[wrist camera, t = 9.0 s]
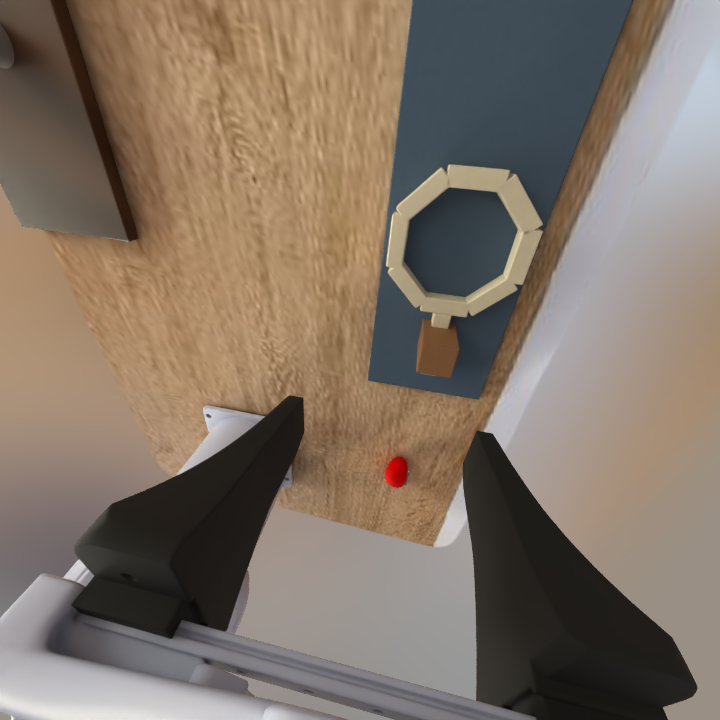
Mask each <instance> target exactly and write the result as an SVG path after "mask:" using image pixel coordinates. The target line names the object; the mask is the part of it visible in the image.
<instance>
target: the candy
mask: <svg viewBox="0 0 720 720" xmlns="http://www.w3.org/2000/svg"><path fill="white" fill-rule="evenodd" d="M408 475H409V470H408V467H407V463H406V461H405V460H404V459H403V458H402V457H397V458H395V459H393V460H392V461H391V462H390V463H389V464H388V466H387V468H386V471H385V480H386V482H387V483H388V484H389V485H391V486H392V487H396V488H399V487H402V486H403V485H406V483H407V479H408Z"/></svg>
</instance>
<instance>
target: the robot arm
mask: <svg viewBox="0 0 720 720" xmlns="http://www.w3.org/2000/svg"><path fill="white" fill-rule="evenodd" d="M203 413H204V417H205V420H206V424H207V427H208V431H209V434H208V436H207V437H206V438H205V439H204V441H203V442H202V443H201V445H200V446H199V447H198V448H197V450H196V451H195V452H194V453H193V455H192V456H191V457H190V458H189V460H188V461H187V462H186V463H185V465H184V466H183V467H182V468H181V470H180V471H179V472H178V474H177V475H176V476H175V477H173V478H171V479H169V480H167V481H165V482H163V483H161V484H158V485H156V486H154V487H152V488H150V489H147V490H145V491H143V492H140V493H138V494H135V495H133V496H130V497H128V498H125V499H123V500H121V501H118V502H115V503H113V504H111V505H110V506H109V507H108V508H107V509H106V510H105V511H104V512H103V513H102V515H101V516H100V517H99V518H98V519H97V520H96V521H95V522H94V523H93V525H92V526H91V527H90V528H89V529H88V530H87V531H86V532H85V533H84V534H83V536H82V537H81V538H80V539H79V540H78V541H77V542H76V543H75V545H74V551H75V554H76V555H77V557H78V558H79V560H78V561H77V562H76V563H75V564H74V566H73V567H72V568H71V569H70V570H69V571H68V573H67V574H66V575H65V576H64V577H63V578H61V577H57V576H54V575H50V574H46V573H45V574H41V575H40V576H39V577H38V578H37V579H36V580H35V581H34V582H33V583H32V584H31V585H30V587H29V588H28V589H27V590H26V591H25V592H24V593H23V594H22V595H21V596H20V597H19V598H18V599H17V601H16V602H15V603H14V604H13V605H12V606H11V607H10V608H9V609H8V610H7V611H6V613H4V615H3V616H2V617H1V618H0V713H3V714H6V715H9V716H11V719H12V720H347V719H344V718H340V717H337V716H333V715H330V714H326V713H322V712H319V711H315V710H311V709H307V708H303V707H299V706H295V705H290V704H286V703H282V702H278V701H273V700H268V699H264V698H259V697H255V696H254V695H253V694H251V693H250V692H249V691H248V689H247V688H248V682H247V681H246V680H244V679H242V678H239V677H237V676H235V675H233V674H230V673H228V672H232V673H235V674H238V675H242V676H246V677H249V678H253V679H256V680H259V681H263V682H266V683H270V684H273V685H277V686H280V687H284V688H287V689H291V690H294V691H297V692H301V693H304V694H308V695H311V696H315V697H319V698H322V699H325V700H329V701H332V702H336V703H339V704H343V705H346V706H350V707H353V708H356V709H360V710H363V711H367V712H371V713H374V714H377V715H381V716H384V717H388V718H391V719H395V720H668V719H667V716H666V714H665V712H664V710H663V707H664V706H668V705H671V704H674V703H677V702H680V701H683V700H686V699H688V698H690V697H692V696H693V695H694V694H695V692H696V691H697V685H696V682H695V680H694V678H693V676H692V674H691V672H690V670H689V669H688V666H687V664H686V663H685V660H684V659H683V657H682V655H681V653H680V651H679V649H678V647H677V646H676V644H675V642H674V640H673V638H672V637H671V636H670V635H669V634H667V633H666V632H665V631H664V630H663V629H662V628H661V627H659V626H658V625H657V624H656V623H655V622H654V621H652V620H651V619H650V618H649V617H648V616H647V615H646V614H644V613H643V612H642V611H641V610H640V609H639V608H637V607H636V606H635V605H634V604H633V603H632V602H631V601H630V600H628V599H627V598H626V597H625V596H624V595H623V594H622V593H621V592H620V591H619V590H618V589H617V588H616V587H615V586H614V585H613V584H611V583H610V582H609V581H608V580H607V579H606V578H605V577H604V576H603V575H602V574H601V573H600V572H599V571H598V570H597V569H596V568H595V567H594V566H593V565H592V564H591V563H590V562H589V561H588V560H587V559H586V558H585V557H584V555H583V554H582V553H581V552H580V551H579V550H578V549H577V548H576V547H575V546H574V545H573V544H572V543H571V542H570V541H569V539H568V538H567V537H566V536H565V535H564V534H563V533H562V531H561V530H560V529H559V528H558V527H557V525H556V524H555V523H554V522H553V521H552V520H551V519H550V517H549V516H548V515H547V514H546V512H545V511H544V510H543V508H542V507H541V506H540V504H539V503H538V502H537V500H536V499H535V498H534V496H533V495H532V494H531V492H530V491H529V489H528V488H527V487H526V485H525V484H524V482H523V481H522V479H521V478H520V476H519V475H518V473H517V472H516V470H515V469H514V467H513V466H512V464H511V462H510V461H509V460H508V458H507V456H506V455H505V453H504V451H503V450H502V448H501V446H500V445H499V443H498V442H497V440H496V438H495V437H494V435H493V434H491V433H486V432H481V431H477V432H476V434H475V436H474V439H473V441H472V443H471V446H470V448H469V450H468V453H467V455H466V457H465V460H464V462H463V489H464V496H465V503H466V510H467V516H468V522H469V529H470V535H471V542H472V550H473V560H474V578H475V600H476V639H477V640H476V641H477V689H476V701H475V700H471V699H468V698H464V697H460V696H456V695H453V694H449V693H446V692H442V691H439V690H435V689H431V688H428V687H424V686H420V685H417V684H413V683H410V682H406V681H402V680H399V679H395V678H391V677H388V676H384V675H380V674H377V673H373V672H370V671H366V670H362V669H359V668H355V667H351V666H347V665H344V664H340V663H336V662H333V661H329V660H326V659H322V658H318V657H315V656H311V655H307V654H304V653H300V652H297V651H293V650H289V649H286V648H282V647H279V646H275V645H271V644H268V643H264V642H260V641H257V640H253V639H249V638H245V637H242V636H238V635H235V632H236V630H237V628H238V625H239V623H240V621H241V619H242V616H243V613H244V611H245V607H246V604H247V600H248V595H249V573H248V570H247V568H248V566H249V563H250V560H251V557H252V554H253V551H254V548H255V546H256V543H257V541H258V539H259V537H260V535H261V533H262V530H263V528H264V526H265V524H266V521H267V519H268V517H269V514H270V512H271V510H272V508H273V506H274V503H275V501H276V499H277V497H278V494H279V492H280V490H281V488H282V487H287V488H291V487H292V485H293V476H292V462H293V460H294V458H295V456H296V453H297V451H298V448H299V445H300V442H301V439H302V436H303V434H304V406H303V398H301V397H295V396H288V397H287V398H286V399H284V400H283V401H282V402H281V403H280V404H279V405H278V406H277V407H276V408H274V409H273V410H272V411H271V412H270V413H269V414H268V415H266V416H261V415H256V414H251V413H246V412H240V411H235V410H230V409H225V408H220V407H215V406H210V405H207V406H205V407H204V408H203ZM224 670H225V671H224ZM226 671H228V672H226Z"/></svg>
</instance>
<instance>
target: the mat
mask: <svg viewBox="0 0 720 720" xmlns="http://www.w3.org/2000/svg"><path fill="white" fill-rule="evenodd" d="M632 2H633V0H413V1H412V9H411V18H410V26H409V35H408V43H407V52H406V60H405V69H404V78H403V86H402V95H401V103H400V112H399V120H398V129H397V137H396V146H395V154H394V163H393V171H392V180H391V188H390V197H389V205H388V214H387V223H386V231H385V240H384V248H383V257H382V265H381V274H380V282H379V291H378V299H377V308H376V316H375V325H374V333H373V342H372V350H371V359H370V367H369V376H368V380H369V381H375V382H381V383H387V384H392V385H398V386H404V387H409V388H415V389H421V390H427V391H432V392H438V393H444V394H450V395H455V396H461V397H467V398H472V399H479V397H480V394H481V392H482V389H483V387H484V384H485V381H486V379H487V376H488V374H489V371H490V369H491V366H492V363H493V361H494V358H495V356H496V353H497V350H498V348H499V345H500V343H501V340H502V338H503V335H504V332H505V330H506V327H507V325H508V322H509V319H510V317H511V314H512V312H513V309H514V307H515V304H516V301H517V299H518V296H519V294H520V291H521V288H522V286H523V285H519V284H515V285H516V287H517V288H518V290H517V291H515V292H513V293H511V294H510V295H508V296H506V297H505V298H503V299H501V300H499V301H498V302H496V303H494V304H493V305H491V306H489V307H487V308H486V309H484V310H482V311H481V312H479V313H477V314H475V315H474V316H471V314H470V313H469V312H468V314H467V317H459V316H452V315H451V320H450V323H455V325H456V331H457V337H458V344H459V353H458V356H457V360H456V363H455V366H454V370H453V373H452V376H451V378H446V377H440V376H432V375H426V374H421V373H417V372H416V366H417V347H418V341H419V336H420V331H421V327H422V322H423V319H430V320H431V319H432V314H433V313H431V312H424V311H420V306H418V307H417V308H415V307H414V306H413V305H412V303H411V302H410V301H409V299H408V298H407V297H406V296H405V294H404V293H403V292H402V290H401V289H400V288H399V287H398V285H397V284H396V283H395V281H394V280H393V279H392V278H391V276H390V275H389V274H388V270H389V267H387V266H386V262H387V254H388V246H389V237H390V229H391V221H392V215H393V213H394V212H398V211H397V209H396V207H397V206H398V204H399V203H401V202H402V201H403V200H404V199H405V198H406V197H407V196H409V195H410V194H411V193H412V192H413V191H414V190H415V189H417V188H418V187H419V186H420V185H421V184H422V183H423V182H424V181H426V180H427V179H428V178H429V177H430V176H431V175H432V174H434V173H435V172H436V171H437V170H438V169H439V168H441V167H442V168H444V170H445V172H446V173H447V168H448V165H449V164H453V165H464V166H475V167H485V168H496V169H506V170H510V173H509V174H511V173H512V174H516V175H517V176H518V178H519V180H520V182H521V184H522V186H523V188H524V189H525V191H526V193H527V195H528V197H529V199H530V201H531V202H532V204H533V206H534V208H535V210H536V212H537V214H538V215H539V217H540V219H541V221H542V223H543V225H542V226H540V227H539V229H540V230H542V231H543V232H544V229H545V226H546V224H547V221H548V219H549V216H550V214H551V211H552V208H553V206H554V203H555V201H556V198H557V195H558V193H559V190H560V188H561V185H562V183H563V180H564V177H565V175H566V172H567V170H568V167H569V164H570V162H571V159H572V157H573V154H574V152H575V149H576V146H577V144H578V141H579V139H580V136H581V133H582V131H583V128H584V126H585V123H586V121H587V118H588V115H589V113H590V110H591V108H592V105H593V102H594V100H595V97H596V95H597V92H598V90H599V87H600V84H601V82H602V79H603V77H604V74H605V71H606V69H607V66H608V64H609V61H610V59H611V56H612V53H613V51H614V48H615V46H616V43H617V40H618V38H619V35H620V33H621V30H622V28H623V25H624V22H625V20H626V17H627V15H628V12H629V9H630V7H631V4H632ZM517 231H518V229H517V227H516V225H515V224H514V222H513V220H512V218H511V217H510V215H509V213H508V211H507V210H506V208H505V206H504V204H503V203H502V201H501V199H500V198H499V196H498V194H497V192H491V191H481V190H471V189H461V188H451V187H449V188H448V189H447V190H445V191H444V192H443V193H442V194H440V195H439V196H438V197H437V198H436V199H434V200H433V201H432V202H431V203H430V204H428V205H427V206H426V207H425V208H424V209H422V210H421V211H420V212H419V213H418V214H416V215H415V216H414V217H413V218H412V219H410V222H409V229H408V235H407V242H406V248H405V255H404V262H405V263H406V265H407V266H408V267H409V269H410V270H411V272H412V273H413V274H414V276H415V277H416V278H417V280H418V281H419V282H420V284H421V285H422V286H423V288H424V289H425V290H426V292H432V293H439V294H446V295H454V296H461V297H467V296H468V295H470V294H471V293H473V292H475V291H476V290H478V289H479V288H481V287H483V286H484V285H486V284H488V283H489V282H491V281H492V280H494V279H496V278H497V277H499V276H500V275H502V274H503V272H504V269H505V266H506V263H507V260H508V257H509V255H510V252H511V249H512V246H513V243H514V240H515V237H516V234H517ZM542 234H543V233H542ZM541 237H542V236H541ZM540 239H541V238H540ZM539 242H540V241H539ZM538 245H539V244H538ZM537 247H538V246H537ZM536 250H537V249H536ZM535 252H536V251H535ZM534 255H535V254H534ZM532 260H533V259H532ZM531 263H532V262H531ZM530 265H531V264H530ZM529 268H530V267H529ZM527 273H528V272H527ZM526 276H527V275H526ZM525 278H526V277H525ZM524 281H525V280H524Z"/></svg>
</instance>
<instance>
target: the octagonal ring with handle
mask: <svg viewBox="0 0 720 720" xmlns="http://www.w3.org/2000/svg"><path fill="white" fill-rule="evenodd" d="M509 173H510V170H506V169H496V168H485V167H475V166H464V165H453V164H449V165H448V168H447V173H446V172H445V170H444V168H442V167H441V168H439V169H438V170H437V171H436V172H435V173H434V174H432V175H431V176H430V177H429V178H428V179H427V180H426V181H424V182H423V183H422V184H421V185H420V186H419V187H418V188H417V189H415V190H414V191H413V192H412V193H411V194H410V195H409V196H407V197H406V198H405V199H404V200H403V201H402V202H401V203H399V204H398V206H397V207H396V209H397V211H398V212H394V213H393V215H392V221H391V229H390V237H389V246H388V254H387V262H386V266H387V267H389V270H388V274H389V275H390V276H391V278H392V279H393V280H394V281H395V283H396V284H397V285H398V287H399V288H400V289H401V290H402V292H403V293H404V294H405V296H406V297H407V298H408V299H409V301H410V302H411V303H412V305H413V306H414V307H415V308H417V307H418V306H420V311H424V312H431V313H433V314H432V319H431V320H430V319H423V322H422V327H421V331H420V336H419V341H418V347H417V366H416V372H417V373H421V374H426V375H432V376H440V377H446V378H451V376H452V373H453V370H454V366H455V363H456V360H457V356H458V353H459V344H458V337H457V331H456V325H455V323H450V320H451V315H452V316H459V317H467V314H468V312H469V313H470V314H471V316H474V315H475V314H477V313H479V312H481V311H482V310H484V309H486V308H487V307H489V306H491V305H493V304H494V303H496V302H498V301H499V300H501V299H503V298H505V297H506V296H508V295H510V294H511V293H513V292H515V291H517V290H518V288H517V287H516V285H515V284H519V285H523V283H524V280H525V277H526V275H527V272H528V270H529V267H530V264H531V262H532V259H533V257H534V254H535V251H536V249H537V246H538V244H539V241H540V238H541V236H542V233H543V231H542V230H540V229H539V227H540V226H542V225H543V223H542V221H541V219H540V217H539V215H538V214H537V212H536V210H535V208H534V206H533V204H532V202H531V201H530V199H529V197H528V195H527V193H526V191H525V189H524V188H523V186H522V184H521V182H520V180H519V178H518V176H517V175H516V174H512V173H511V174H509ZM449 187H451V188H461V189H471V190H481V191H491V192H497V194H498V196H499V198H500V199H501V201H502V203H503V204H504V206H505V208H506V210H507V211H508V213H509V215H510V217H511V218H512V220H513V222H514V224H515V225H516V227H517V229H518V231H517V234H516V237H515V240H514V243H513V246H512V249H511V252H510V255H509V257H508V260H507V263H506V266H505V269H504V272H503V274H502V275H500V276H499V277H497V278H496V279H494V280H492V281H491V282H489V283H488V284H486V285H484V286H483V287H481V288H479V289H478V290H476V291H475V292H473V293H471V294H470V295H468V296H467V297H461V296H454V295H446V294H439V293H432V292H426V290H425V289H424V288H423V286H422V285H421V284H420V282H419V281H418V280H417V278H416V277H415V276H414V274H413V273H412V272H411V270H410V269H409V267H408V266H407V265H406V263H405V262H404V255H405V248H406V242H407V235H408V229H409V222H410V219H412V218H413V217H414V216H415V215H416V214H418V213H419V212H420V211H421V210H422V209H424V208H425V207H426V206H427V205H428V204H430V203H431V202H432V201H433V200H434V199H436V198H437V197H438V196H439V195H440V194H442V193H443V192H444V191H445V190H447V189H448V188H449Z"/></svg>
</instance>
